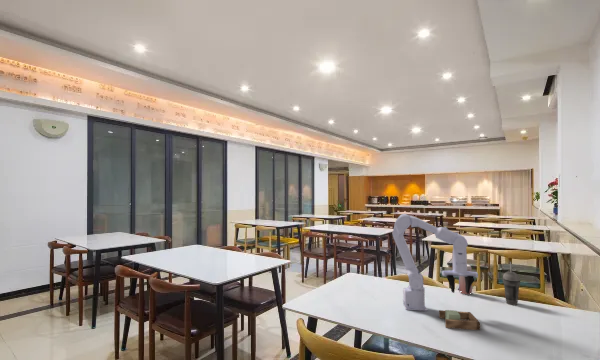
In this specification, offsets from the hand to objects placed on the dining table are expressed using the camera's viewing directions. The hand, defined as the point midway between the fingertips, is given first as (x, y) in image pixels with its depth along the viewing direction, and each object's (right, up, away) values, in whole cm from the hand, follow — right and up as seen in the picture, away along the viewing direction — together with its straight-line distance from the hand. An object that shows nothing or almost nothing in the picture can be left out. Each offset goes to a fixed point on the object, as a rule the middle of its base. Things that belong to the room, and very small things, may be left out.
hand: (460, 292), depth 140 cm
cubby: (-7, -9, -10) cm, 15 cm away
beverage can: (+17, -10, +26) cm, 33 cm away
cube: (-8, -9, -10) cm, 16 cm away
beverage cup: (+31, -10, +12) cm, 35 cm away
